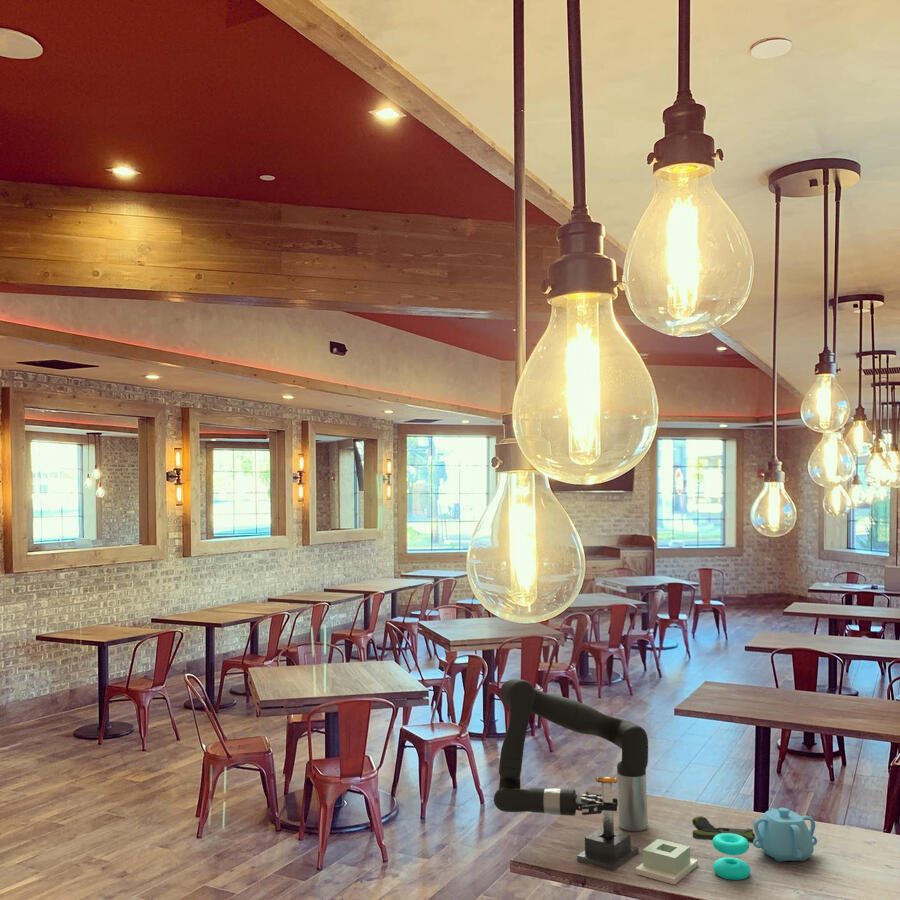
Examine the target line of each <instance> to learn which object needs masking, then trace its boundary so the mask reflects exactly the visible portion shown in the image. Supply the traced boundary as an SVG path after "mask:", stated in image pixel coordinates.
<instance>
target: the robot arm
mask: <svg viewBox="0 0 900 900" xmlns="http://www.w3.org/2000/svg"><path fill="white" fill-rule="evenodd" d="M499 695H500V699H501V701H502V702H503V704H504V705H505V706H507V707H508V708H509V711H510V713H509V721H508V722H509V723H508V727H507V731H506V734H505V737H504V738H503V742H502V745H501V750H500V756H499V764H498V765H499V766H498V774H499V782H498V784H499V786H498V789H497V790H496V791H495V794H494V796H493V803H494V805H495V807H496V809H498V810H499V811H501V812H503V813H526V812H529V813H535V814H536V813H539V814H547V815H556V816H557V815H558V816H571V817H572V816H573V817H575V816H576V814H577V811H578V812H579V811H580V812H581V815H582V816H589V815H598V814H602V812H603V811H604V810H605V811H613V812H617V811H618V826H619V828H620V829H623V831H624V830H625V831H630V832H641V831H645V830H647V829H648V824H649V819H648V817H649V815H648V793H647V792H648V791H647V767H648V763H649V740H648V739H649V738H648V734H647V731H646V730H645V729H644V728H643V727H642V726H640V725H638V724H636V723H634V722H632V721H630V720H625V719H621V718H618V717H613V716H610V715H606V714H604V713H602V712H601V711H598V710H597V709H595V708H593V707H592V706H589V705H587V704H585V703H582V702H580V701H577V700H575V699H573V698H572V699H571V698H568V697H565V696H560V695H556V694H551V693H548V692H547V693H546V692H543V691H541V690H537V689H536V688H534V686H533V684H531V682H529V681H527V680H525V679H519V678H512V679H508V680H507V681H505V682H504V683H503V684H502V685H501V687H500V690H499ZM531 714H534V715H537V716H538V717H539V716H540V717H541V718H543V719H545V720H547V721H549V722H551V723H553V724H555V725H558V726H560V727H562V728H563V729H564V728H565V729H567V730H569V731H572V732H576V733H579V734H582V735H591V736H597V737H599V738H602V739H604V740H606V741H607V742H610V743H612V744H613V745H616V746H617V747H618V748H620V749H621V761H619V762H618V763H617V765H616V767H617V768H616V769H617V771H616V772H617V777H616V778H617V780H618V782H617V798H616V797H615V798H614V797H613V803H610V802H602V793H601V794H600V793H597V792H592V791H585V794H583V793H582V794H578V795H577V792H576V789H574V788H557V787H555V788H554V787H552V788H549V787H548V788H540V787H534V788H533V787H531V788H521V775H522V766H523V758H524V750H525V741H526V737H527V731H528V727H529V721H530V718H531Z"/></svg>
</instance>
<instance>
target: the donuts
mask: <svg viewBox="0 0 900 900" xmlns="http://www.w3.org/2000/svg"><path fill="white" fill-rule="evenodd" d="M711 840H712V846H713V847H714V849H716V850H717V851H718V852H720V853H721V854H724V855H727V857H720V858H718V859H716V860H715V861H714V863H713V866H712V867H713V871H714V872H715V874H716V875H717V876H719V877H721V878H723V879H727V880H731V881H739V880H740V881H741V880H744V879H746V878H748V877H749V876H750V874H751V868H750V866H749V865H748V863H746V862H745V861H744V860H742V859H740V858H737V857H734V856H739V855H740V856H741V855H743V854H745V853H747V851H749V849H750V842H748V841H747V840H746V839H745V838H744V837H742V836H740V835H737V834H732V833H722V834H718V835H716V836H715V837H714V838H713V839H711ZM730 856H731V857H730ZM732 856H733V857H732Z"/></svg>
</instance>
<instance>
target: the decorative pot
mask: <svg viewBox="0 0 900 900" xmlns="http://www.w3.org/2000/svg"><path fill="white" fill-rule="evenodd" d="M806 820H807V821H810V827H808V826H807V823H806ZM753 831H754V834H755V835H756V838H755V839H754V840H753V842H752V844H753V846H754V848H756V849H762V851H763V852H764V853H765V855H767V856H769V857H771V858H773V859H775V862H779V863H784V862H785V861H787V862H788V861H789V862H790V861H795V862H796V861H799V862H806V860H808V859H810V858H811V856H812V855H813V853H814V851H815V849H814V846H815V845H817V844H818V839H817V837H816V836H814V834H815V831H816V822H815V820H814V819H813V818H812V817H811V816H810V815H800V814H799V813H797V812H795V811H792V810H790V808H786V807H779V808H778V809H776V808H773V807H772V808H769V809H768V810H766V811H765V812H764V814H763V816H762V817H759V818H757V819H755V821H754V822H753Z"/></svg>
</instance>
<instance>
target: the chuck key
mask: <svg viewBox="0 0 900 900" xmlns="http://www.w3.org/2000/svg"><path fill="white" fill-rule="evenodd" d="M595 782H596V783H600V785H601V786H600V787H601V794H602V802H610V803H613V798H614V795H613V784H618V778H617V777H612V776H611V777H609V776H607V777H606V776H596V777H595ZM601 814H602V815H601V816H602V828H603V837H604V838H608V839H611V838H614V831H615V830H614V829H615V827H614V826H615V825H614V823H615V822H614V811H605V810H604V811H603V812H602V813H601Z"/></svg>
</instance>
